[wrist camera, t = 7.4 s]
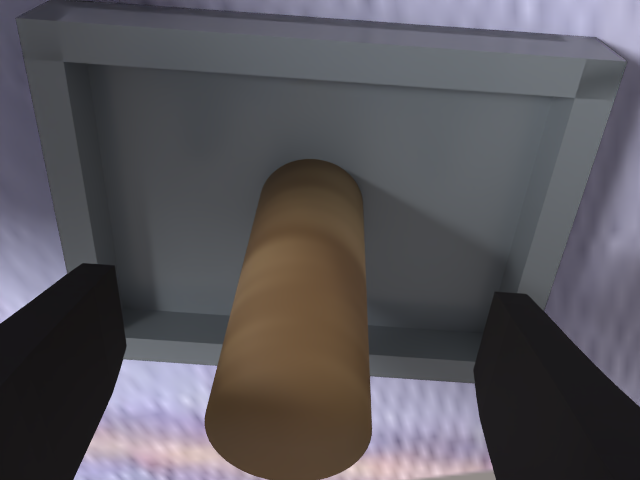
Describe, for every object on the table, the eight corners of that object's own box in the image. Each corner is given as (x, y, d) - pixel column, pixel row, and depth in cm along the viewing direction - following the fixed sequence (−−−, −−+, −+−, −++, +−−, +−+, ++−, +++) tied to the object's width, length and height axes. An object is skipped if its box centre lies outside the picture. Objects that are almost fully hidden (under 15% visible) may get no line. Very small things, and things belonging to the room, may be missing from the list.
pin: (260, 246, 16) (210, 477, 10) (258, 156, 15) (198, 365, 9) (359, 251, 16) (365, 486, 10) (366, 161, 15) (379, 374, 9)
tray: (105, 314, 18) (84, 356, 17) (52, -2, 13) (15, 18, 12) (504, 342, 18) (518, 386, 17) (595, 37, 14) (627, 61, 12)
